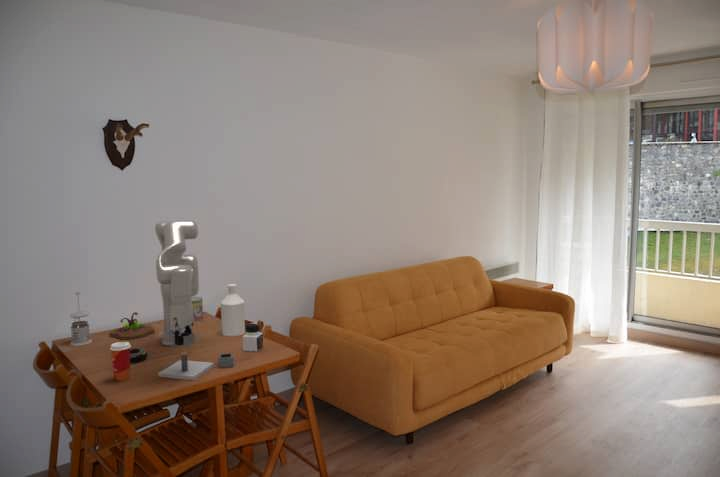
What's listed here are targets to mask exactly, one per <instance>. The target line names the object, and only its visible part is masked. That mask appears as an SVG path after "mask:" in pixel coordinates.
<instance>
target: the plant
mask: <svg viewBox="0 0 720 477" xmlns="http://www.w3.org/2000/svg"><path fill="white" fill-rule="evenodd" d="M134 315H135V316H138V315H139V313H138V312H137V311H136V312H133V313H132V315H131V318H130V319H129V318H127V317H123V318H122V319H120V320H119V322H120V323H121V324H122V325H123V326H122V327H118V328H115V329H113V330H110V331H109V337H110V338H113V339H117V340H120V341H133V340H138V339H144V338H146V337H149V336H151V335H155V333H156V331H155V328H154V326H151V325H149V324H142V323H143V321H140V322H139V320H138V319H137V318H134ZM124 320H127V321H126V323H125V322H124Z"/></svg>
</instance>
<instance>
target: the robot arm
mask: <svg viewBox="0 0 720 477" xmlns="http://www.w3.org/2000/svg"><path fill="white" fill-rule="evenodd" d="M154 231H155V234H156V237H157V239H158V241H159V244H160V246H161V252H160V253H159V255H158V256H157V258H156V262H155V270H156V278H157V282H158V283H159V284H160V285H159V286H160V292H161V299H162V305H163V325H164V328H163V329H164V331H162V332H161V331H160V332H159V333H158V338H162V340H161V345H163V346H167V347H174V346H173V336H175V345H183V337H182V335H181V334H182V332H186V333H193V327H194V324H195V322H194V320H195V319H194V318H193V307H192V297H194V296H197V295H198V294H199V291H200V282H199V280H200V279H199V262H198V259H197V257H196V256H195V255H194V254H185V253H186V251H187V244H186V240H196V239H197V237H198V235H199V228H198V224H197V223H196V222H195V220H191V219H190V220H168V221H167V220H165V221H160V222H157V223H156V224H155V227H154Z"/></svg>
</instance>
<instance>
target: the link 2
mask: <svg viewBox="0 0 720 477" xmlns="http://www.w3.org/2000/svg"><path fill="white" fill-rule="evenodd" d="M217 359H218V360H217V362H218V363H217V364H218V368H223V369H224V368H233V367H234V362H235V361H234V360H235V359H234V352H230V353H226V352H225V353H219V354H218V357H217Z"/></svg>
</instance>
